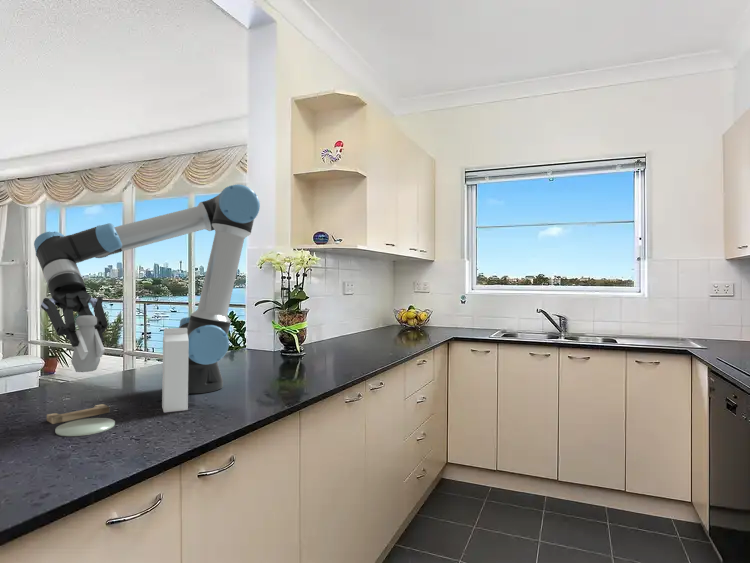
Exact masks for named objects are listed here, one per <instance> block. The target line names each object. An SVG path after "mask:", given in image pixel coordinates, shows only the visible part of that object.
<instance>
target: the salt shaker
mask: <svg viewBox="0 0 750 563" xmlns="http://www.w3.org/2000/svg"><path fill="white" fill-rule="evenodd" d="M93 315H94V314H93ZM93 315H84V316H80V315H78V316H77V317H76V318H75V326H77V327H78V330H80V331H81V334H82V337H83V339H84V342H85V345H86V347H87V350H88V353H87V355H86V357H85V359H83V360H81V359H80V356H79V353H78V350H77V348H76V347H73V353H72V356H71V359H70V362H71V365H72V366H73V369H74V371H75V372H76V373H89V372H95V371H96V370H97V369H98V366H99V364H100V363H101V358H98V357H97V354H96V342H95V327H94V326H95V325H97V317H95V315H94V316H93Z"/></svg>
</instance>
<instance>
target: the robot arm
mask: <svg viewBox="0 0 750 563" xmlns="http://www.w3.org/2000/svg"><path fill="white" fill-rule="evenodd" d="M260 202H261V201H260V199H259V197H258V195H257V194H256V192H255V191H254V190H253V189H252V188H250V187H249V186H246V185H244V184H233V185H229V186H227V187H225V188H224V189H222V191H221V192H220V193H219V194H218V195H216V196H214V197H212V198H209V199H207V200H204V201H200V202H198V205H197V206H193V207H189V208H185V209H182V210H178V211H173V212H170V213H166V214H162V215H156V216H154V217H150V218H149V217H148V218H146V219H142V220H138V221H134V222H130V223H126V224H122V225H118V226H114V224H112V223H108V222H107V223H105V224H102V225H100V224H99V225H96V226H94V227H91V228H87V229H84V230H82V231H79V232H75V233H72V234H68V235H64V234H63V233H61V232H58V231H46V232H43V233H41V234H39V235H37V236H36V238H35V240H34V242H33V246H34V247H33V248H34V250H35V256H36V258H37V261H38V263H39V265H40V268H41V270H42V274H43V276H44V279H45V283H46V285H47V288H48V290H49V293H50V294H49V295H50V297H51V298H48V297H44V298H43V300H42V302H41V305H40V308H41V309H42V310H43V311H44V312H45V313H46V315H47V316H48V318H49V320H50V323H51V324H52V326H53V328H54V330H55V333H56V334H57V336H59V337H62V336H65V339H66V340H69V342H70V345H71V346H72V347H73V348H74V347H76V348H77V350H78V353H79V356H80V359H81V360H83V359H85V357H86V355H87V353H88V350H87V347H86V345H85V342H84V339H83V337H82V334H81V331H80V330H79V329H77V328H76V320H75V315H74V312H77V314H78V316H84V315H93V316H95V317H97V325H95V326H94V327H95V342H96V354H97V357H98V358H100V359H101V358H102V357H103V355H104V353H105V351H106V349H105V346H104V345H103V343H104V341H105V337H104V334H103V333H105V331H106V329H107V328H108V320H107V317H106V315H105V310H104V307H103V301H104V298H103V297H102V296H101V297H100V296H99V297H97V298H94V297H92V296H91V294H90V293H88V292H87V287H86V284H85V282H84V280H83V277H82V275H81V272H80V270H79V268H78V266H77V265H78V264H79V263H81V262H84V261H87V260H90V259H93V258H95V259H102V258H103V259H104V258H106V257H109V256H111V255H114V254H115V255H116V254H119V253H122V252H125V251H129V250H132V249H137V248H139V247H144V246H147V245H152V244H154V243H159V242H162V241H166V240H170V239H173V238H177V237H181V236H184V235H189V234H192V233H196V232H199V231H203V230H206V231H208V232H211V231H214V232H215V233H214V237H213V241H212V245H211V251H210V254H209V258H208V263H207V267H206V271H205V275H204V280H203V285H202V289H201V293H200V297H199V300H198V301H199V302H198V306H197V309H196V310H195V311H194V312H192V313H190V315H189V316H190V317H188V316H187V317H183V318H181V319H180V321H179V326H178V328H187V334H188V340H189V349H188V394H203V393H204V394H205V393H211V392H215V391H219V390H221V389H222V388H223V387H224V380H223V376H222V373H221V369H220V367H219V363H218V362H219V361H221V360H222V359H223V358H224V357H225V355H226V354H227V353H228V350H229V346H230V341H229V331H230V328H231V327H230V326H231V320H230V318H229V316H228V312H229V309H230V303H231V300H232V295H233V290H234V286H235V281H236V277H237V274H238V267H239V264H240V259H241V255H242V251H243V245H244V241H245V239H246V238H247V237H249V236H250V235H251V233H252V229H253V225H254V221H255V219H256V218H257V217H258V215H259V212H260V208H261V203H260ZM89 303H90V304H91V308H93V312H92V311H91V309H90V305H89ZM57 307H58V308H60V310H62V316H61V314H60V311H59V310H58V308H57ZM93 313H94V314H93ZM62 317H63V318H64V319H63V318H62ZM76 329H77V330H76Z"/></svg>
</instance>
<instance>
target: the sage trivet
mask: <svg viewBox="0 0 750 563" xmlns="http://www.w3.org/2000/svg"><path fill="white" fill-rule="evenodd" d="M115 425H116V420H114V419H111V418H107V417H91V418H89V417H87V418H80V419H75V420H70V421H66V422H65V423H64V422H63V423H62V424H60V425H58V426H56V427H55V428H54V429H55V434H56V435H58V436H61V437H82V436H84V437H85V436H91V435H95V434H99V433H103V432H106V431H109V430H111V429H112V428H114V427H115Z"/></svg>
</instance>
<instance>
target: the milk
mask: <svg viewBox="0 0 750 563" xmlns="http://www.w3.org/2000/svg"><path fill="white" fill-rule="evenodd" d="M162 336H163V337H162V380H161V381H162V384H161V385H162V386H161V388H162V390H161V392H162V393H161V394H162V395H161V400H162V401H161V407H162V411H163V413H173V412H181V411H188V410H189V408H188V407H189V393H188V349H189V340H188V334H187V328H179V327H171V328H164V329H163V335H162Z"/></svg>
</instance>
